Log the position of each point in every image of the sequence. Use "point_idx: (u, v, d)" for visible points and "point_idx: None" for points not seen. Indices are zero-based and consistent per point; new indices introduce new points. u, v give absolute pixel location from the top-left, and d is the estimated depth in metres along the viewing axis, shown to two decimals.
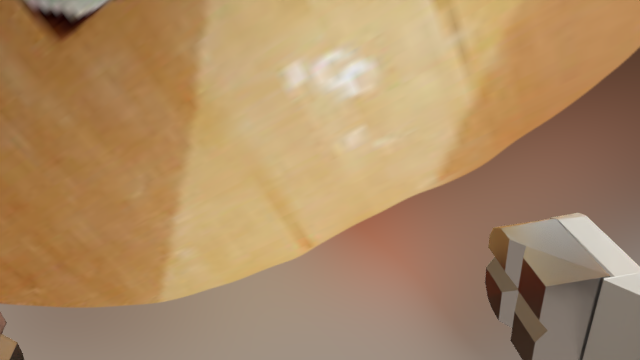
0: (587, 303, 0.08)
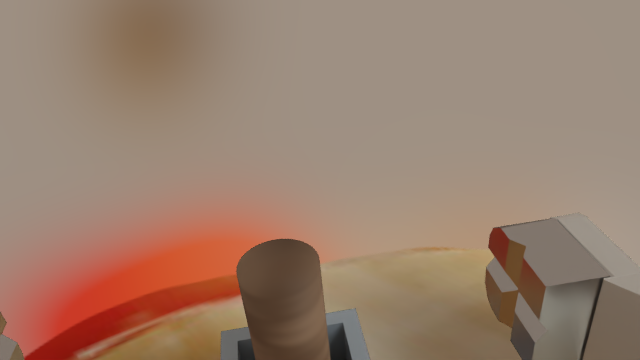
0: (587, 303, 0.08)
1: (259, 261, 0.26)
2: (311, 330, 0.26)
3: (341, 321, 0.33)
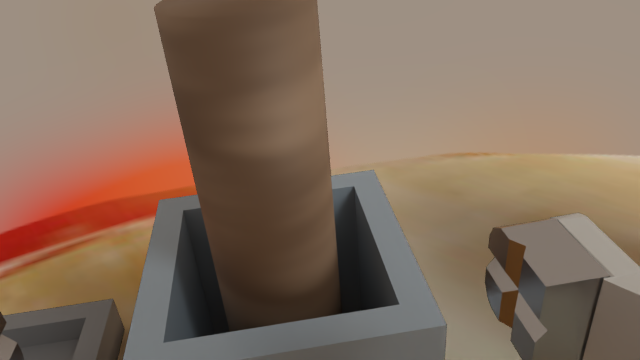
0: (587, 303, 0.08)
1: None
2: (299, 130, 0.13)
3: (351, 185, 0.20)
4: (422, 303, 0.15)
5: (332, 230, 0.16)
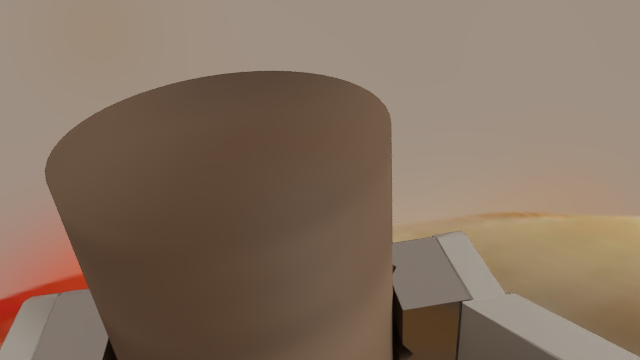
0: (451, 326, 0.07)
1: (152, 123, 0.07)
2: None
3: None
4: None
5: None
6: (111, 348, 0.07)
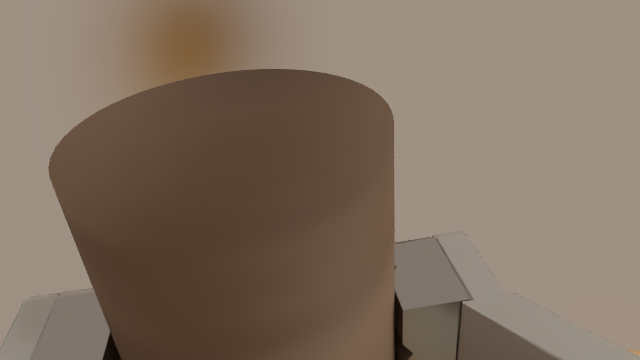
0: (450, 326, 0.07)
1: (155, 120, 0.07)
2: None
3: None
4: None
5: None
6: (111, 348, 0.07)
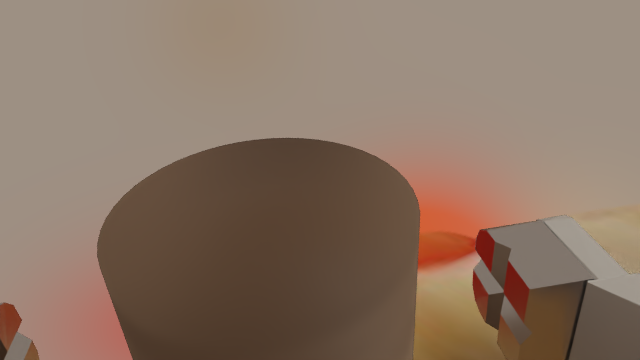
0: (572, 306, 0.08)
1: (191, 200, 0.07)
2: None
3: None
4: None
5: None
6: None
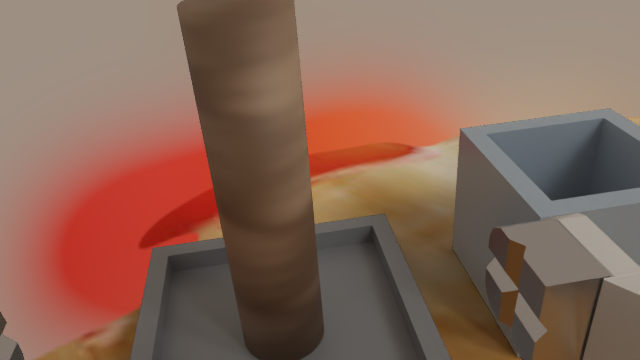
0: (587, 303, 0.08)
1: None
2: (281, 96, 0.18)
3: (601, 117, 0.28)
4: None
5: (307, 177, 0.21)
6: None
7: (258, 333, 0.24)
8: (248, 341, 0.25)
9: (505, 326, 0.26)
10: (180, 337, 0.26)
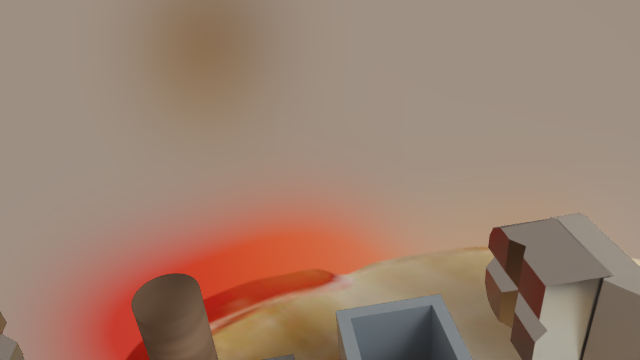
0: (587, 303, 0.08)
1: (151, 293, 0.32)
2: (193, 349, 0.32)
3: (430, 303, 0.41)
4: None
5: None
6: None
7: None
8: None
9: None
10: None
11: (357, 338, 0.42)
